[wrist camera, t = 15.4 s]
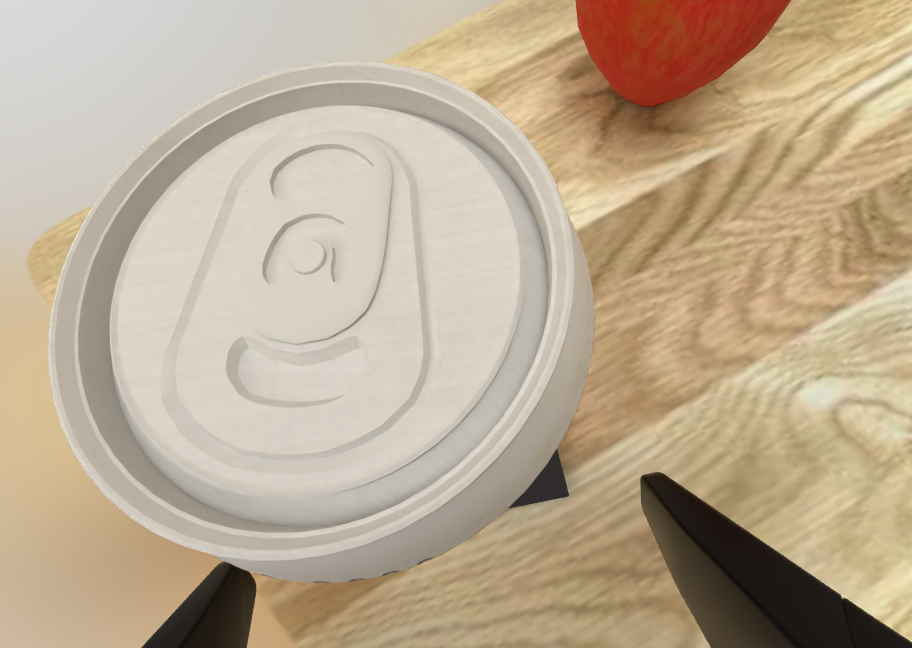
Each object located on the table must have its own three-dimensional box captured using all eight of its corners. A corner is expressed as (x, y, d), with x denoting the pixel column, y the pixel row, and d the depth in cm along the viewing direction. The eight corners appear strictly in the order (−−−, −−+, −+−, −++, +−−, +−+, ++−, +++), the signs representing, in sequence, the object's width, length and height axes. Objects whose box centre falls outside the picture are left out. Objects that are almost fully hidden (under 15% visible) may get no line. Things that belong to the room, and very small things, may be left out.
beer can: (379, 493, 18) (-102, 594, 4) (391, 351, 20) (109, 51, 5) (527, 499, 17) (657, 652, 3) (524, 352, 19) (596, 16, 5)
